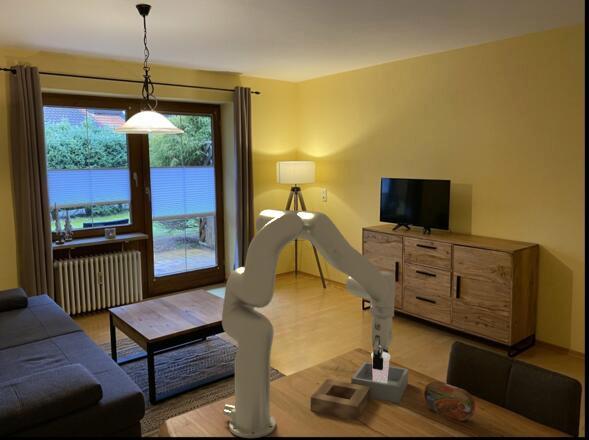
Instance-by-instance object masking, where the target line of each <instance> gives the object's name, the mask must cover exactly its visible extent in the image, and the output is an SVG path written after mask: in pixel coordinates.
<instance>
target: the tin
mask: <svg viewBox="0 0 589 440" xmlns="http://www.w3.org/2000/svg"><path fill="white" fill-rule="evenodd" d="M423 391H424V393H423V396H424V400H425V402H426V404H427V405H428V407H429V408H430V409H431V410H433V411H434V412H436V413H439V414H441V415H445V416H447V417H449V418H451V419H454V420H457V421H461V422H463V421H466V420H468V419H470V418H471V417H472V416H474V414H475V412H476V403H475V399H474V398H473V396H472V394H471V393H469V392H468V391H467V390H466V389H463V388H460V387H457V386H454V385H451V384H449V383H446V382H443V381H433V382H429V383H428V384H427V385H426V386H425V388H424V390H423Z"/></svg>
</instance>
